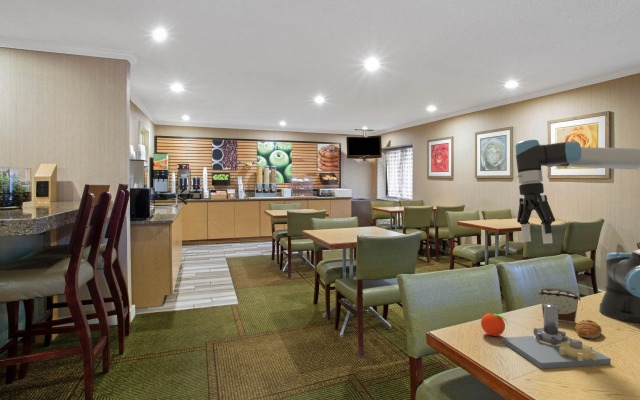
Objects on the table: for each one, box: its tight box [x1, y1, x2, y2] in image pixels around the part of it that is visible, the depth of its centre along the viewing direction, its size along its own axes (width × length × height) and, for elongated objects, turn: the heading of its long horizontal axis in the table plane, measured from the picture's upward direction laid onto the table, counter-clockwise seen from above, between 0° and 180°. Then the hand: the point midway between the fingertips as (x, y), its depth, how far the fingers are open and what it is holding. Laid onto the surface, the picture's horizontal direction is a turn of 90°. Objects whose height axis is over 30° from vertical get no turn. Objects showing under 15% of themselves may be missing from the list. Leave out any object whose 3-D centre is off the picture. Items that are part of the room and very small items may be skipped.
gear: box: [533, 304, 570, 345], centre depth 106 cm, size 9×8×10 cm
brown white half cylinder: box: [538, 287, 581, 324], centre depth 129 cm, size 12×6×10 cm, turn 58°
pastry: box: [574, 319, 603, 340], centre depth 114 cm, size 9×7×4 cm
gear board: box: [502, 334, 612, 370], centre depth 101 cm, size 20×18×5 cm
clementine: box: [480, 312, 509, 337], centre depth 113 cm, size 8×7×7 cm
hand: (536, 242), depth 127 cm, fingers open, 13 cm apart
